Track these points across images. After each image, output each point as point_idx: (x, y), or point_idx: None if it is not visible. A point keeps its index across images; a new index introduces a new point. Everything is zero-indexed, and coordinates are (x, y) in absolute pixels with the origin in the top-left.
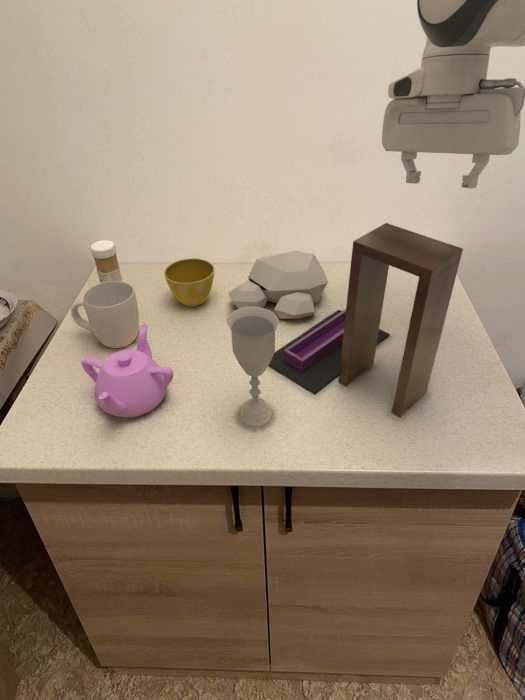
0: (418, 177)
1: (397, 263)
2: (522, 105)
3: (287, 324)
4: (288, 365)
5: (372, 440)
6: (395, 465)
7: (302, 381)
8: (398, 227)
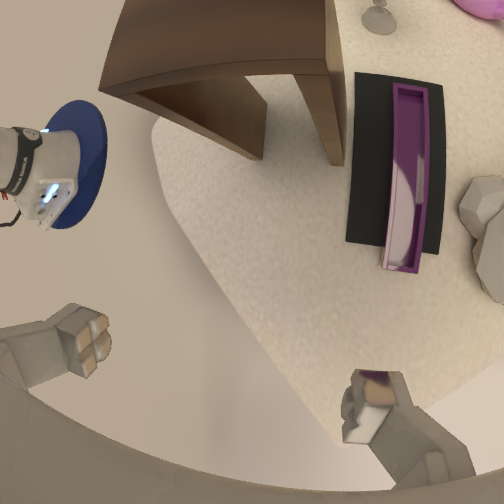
0: (348, 413)
1: None
2: None
3: (475, 177)
4: None
5: None
6: None
7: (379, 78)
8: (270, 56)
